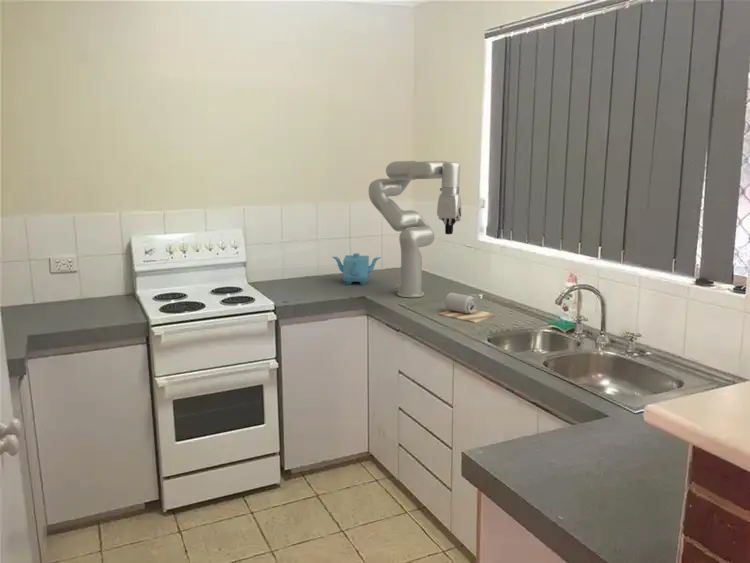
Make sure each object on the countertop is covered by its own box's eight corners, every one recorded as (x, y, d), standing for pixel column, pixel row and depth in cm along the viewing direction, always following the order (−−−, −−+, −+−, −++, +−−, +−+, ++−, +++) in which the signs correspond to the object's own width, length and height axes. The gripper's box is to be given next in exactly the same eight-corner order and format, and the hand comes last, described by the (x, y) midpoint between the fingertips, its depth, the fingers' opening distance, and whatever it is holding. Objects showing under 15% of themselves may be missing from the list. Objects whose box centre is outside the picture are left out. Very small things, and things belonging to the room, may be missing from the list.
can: (445, 313, 284) (470, 318, 276) (441, 299, 280) (466, 304, 272) (454, 302, 288) (478, 307, 281) (450, 288, 284) (475, 293, 277)
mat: (438, 314, 278) (438, 313, 278) (460, 307, 290) (460, 306, 290) (475, 322, 266) (475, 321, 266) (496, 315, 278) (496, 314, 278)
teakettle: (357, 277, 352) (357, 249, 349) (382, 282, 339) (382, 254, 336) (329, 282, 339) (329, 253, 336) (354, 288, 326) (354, 258, 323)
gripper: (431, 190, 289) (429, 233, 293) (459, 192, 279) (458, 236, 283) (441, 189, 294) (440, 231, 298) (469, 191, 285) (468, 234, 288)
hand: (448, 233), depth 291 cm, fingers closed
